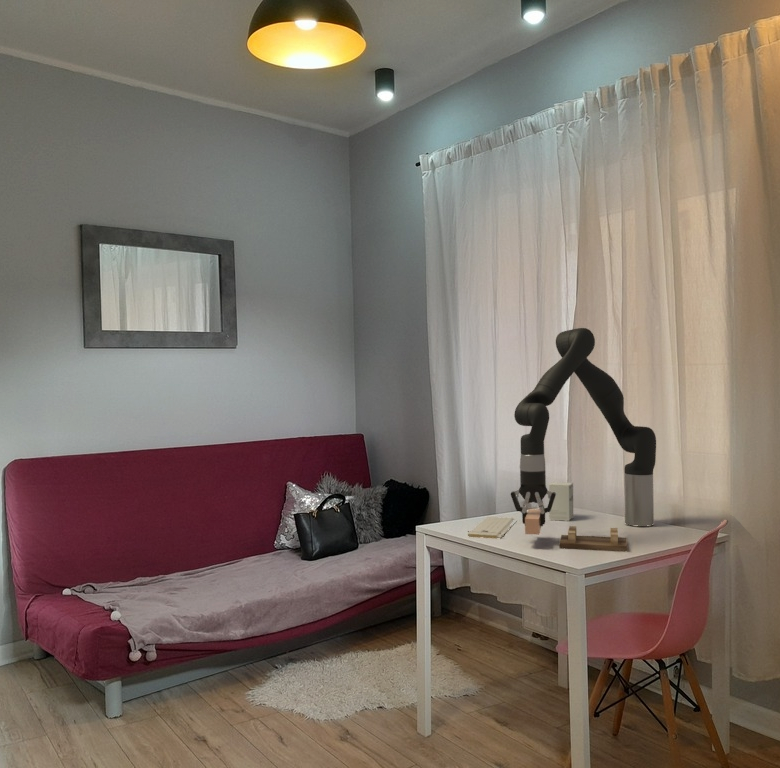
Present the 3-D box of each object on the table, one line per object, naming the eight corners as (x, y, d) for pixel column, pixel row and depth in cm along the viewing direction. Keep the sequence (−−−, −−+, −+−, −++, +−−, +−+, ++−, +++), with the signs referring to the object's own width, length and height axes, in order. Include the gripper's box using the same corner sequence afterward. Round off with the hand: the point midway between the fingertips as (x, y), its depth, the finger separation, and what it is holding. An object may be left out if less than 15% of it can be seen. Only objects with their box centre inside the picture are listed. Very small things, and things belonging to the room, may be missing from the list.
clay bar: (529, 523, 235) (528, 509, 235) (542, 523, 234) (541, 509, 234) (525, 534, 219) (524, 518, 219) (539, 534, 218) (538, 519, 218)
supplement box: (569, 521, 260) (569, 485, 260) (548, 520, 263) (548, 484, 263) (574, 518, 267) (573, 482, 267) (553, 516, 270) (553, 481, 270)
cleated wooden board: (561, 539, 231) (561, 525, 231) (626, 542, 226) (625, 527, 226) (559, 548, 219) (559, 532, 219) (627, 551, 214) (627, 535, 214)
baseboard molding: (521, 522, 263) (487, 521, 266) (521, 514, 263) (487, 513, 266) (505, 540, 233) (467, 538, 237) (505, 531, 233) (467, 529, 237)
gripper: (557, 467, 228) (558, 523, 228) (510, 467, 232) (511, 522, 232) (556, 470, 221) (557, 528, 221) (507, 470, 225) (508, 527, 225)
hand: (533, 525), depth 227 cm, fingers closed on clay bar, 4 cm apart
